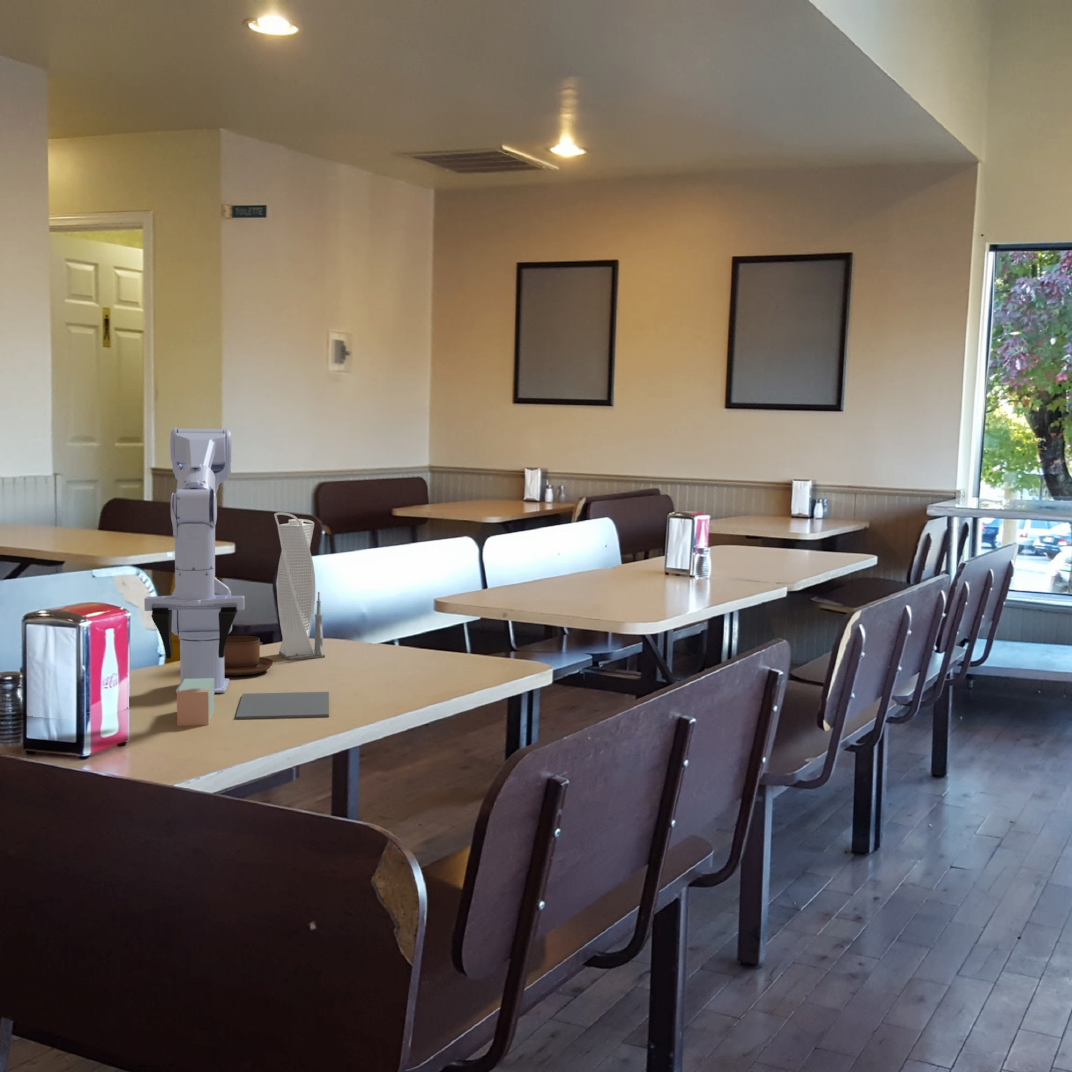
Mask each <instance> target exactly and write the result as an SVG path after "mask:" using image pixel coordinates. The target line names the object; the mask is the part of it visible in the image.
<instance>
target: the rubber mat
mask: <svg viewBox="0 0 1072 1072" xmlns="http://www.w3.org/2000/svg"><path fill="white" fill-rule="evenodd" d="M329 695H330V692H329V691H306V692H305V691H304V692H302V691H301V692H295V691H294V692H261V693H260V692H256V693H242V696H241V699H240V701H239V705H238V708H237V711H236V714H235V720H249V719H251V720H253V719H256V720H257V719H291V718H292V719H294V718H296V719H297V718H298V719H299V718H301V719H302V718H327V717H330V697H329Z"/></svg>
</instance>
